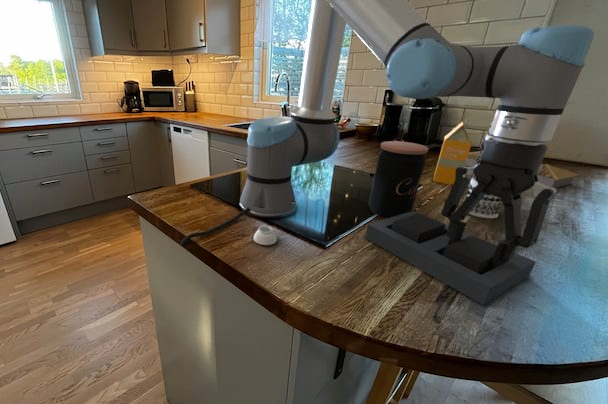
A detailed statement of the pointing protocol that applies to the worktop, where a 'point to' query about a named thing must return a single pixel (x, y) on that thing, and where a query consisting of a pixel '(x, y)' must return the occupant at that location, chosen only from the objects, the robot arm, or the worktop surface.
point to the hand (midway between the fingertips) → (470, 262)
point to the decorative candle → (488, 203)
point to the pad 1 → (418, 228)
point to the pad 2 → (471, 253)
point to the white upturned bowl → (265, 236)
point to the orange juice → (452, 154)
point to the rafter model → (538, 173)
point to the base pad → (449, 262)
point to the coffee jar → (397, 178)
